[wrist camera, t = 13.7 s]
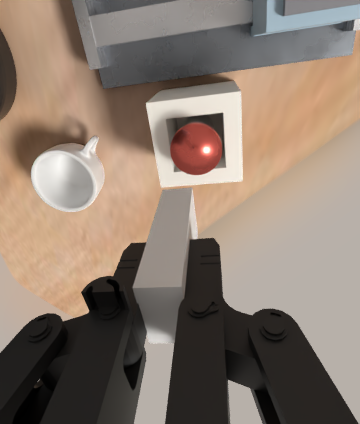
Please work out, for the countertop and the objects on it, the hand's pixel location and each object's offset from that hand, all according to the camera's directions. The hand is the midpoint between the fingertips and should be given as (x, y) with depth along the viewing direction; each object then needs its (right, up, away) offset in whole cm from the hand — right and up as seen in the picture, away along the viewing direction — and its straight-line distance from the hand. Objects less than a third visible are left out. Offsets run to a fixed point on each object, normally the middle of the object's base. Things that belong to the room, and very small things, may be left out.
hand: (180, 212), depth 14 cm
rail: (+3, +19, +12) cm, 23 cm away
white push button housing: (+2, +10, +18) cm, 20 cm away
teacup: (-12, +7, +22) cm, 26 cm away
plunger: (+2, +9, +15) cm, 18 cm away
